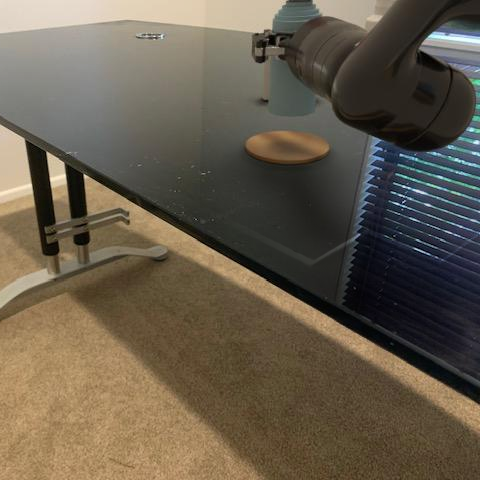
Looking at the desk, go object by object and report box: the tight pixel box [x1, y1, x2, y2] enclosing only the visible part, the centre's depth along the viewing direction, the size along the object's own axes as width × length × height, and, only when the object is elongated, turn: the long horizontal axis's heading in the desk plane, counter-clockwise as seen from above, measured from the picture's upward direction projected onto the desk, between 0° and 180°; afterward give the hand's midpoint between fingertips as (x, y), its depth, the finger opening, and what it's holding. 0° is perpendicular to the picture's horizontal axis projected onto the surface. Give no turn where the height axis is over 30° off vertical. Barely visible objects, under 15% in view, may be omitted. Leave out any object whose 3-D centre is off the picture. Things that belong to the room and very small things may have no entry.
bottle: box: [267, 0, 323, 118], centre depth 67 cm, size 6×6×17 cm
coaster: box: [244, 130, 330, 165], centre depth 74 cm, size 12×12×1 cm
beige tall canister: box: [364, 0, 396, 32], centre depth 102 cm, size 7×7×18 cm
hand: (291, 35), depth 68 cm, fingers closed on bottle, 6 cm apart
